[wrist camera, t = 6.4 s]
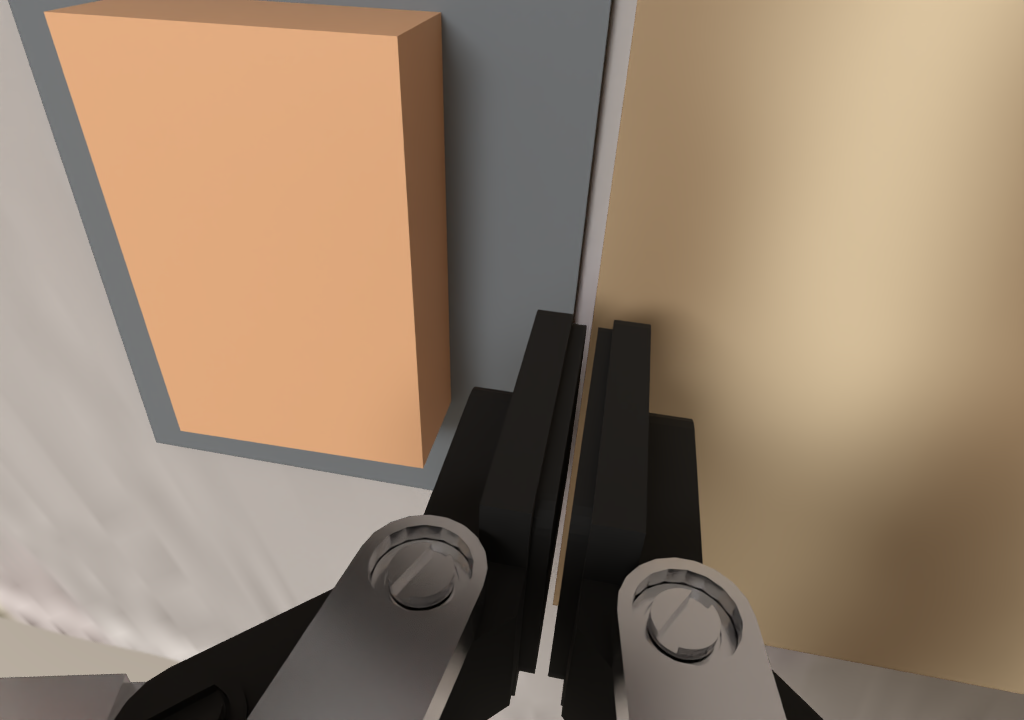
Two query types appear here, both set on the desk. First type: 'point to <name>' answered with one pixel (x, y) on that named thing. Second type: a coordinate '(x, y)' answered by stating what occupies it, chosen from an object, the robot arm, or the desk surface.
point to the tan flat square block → (837, 312)
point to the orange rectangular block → (277, 211)
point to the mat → (469, 198)
